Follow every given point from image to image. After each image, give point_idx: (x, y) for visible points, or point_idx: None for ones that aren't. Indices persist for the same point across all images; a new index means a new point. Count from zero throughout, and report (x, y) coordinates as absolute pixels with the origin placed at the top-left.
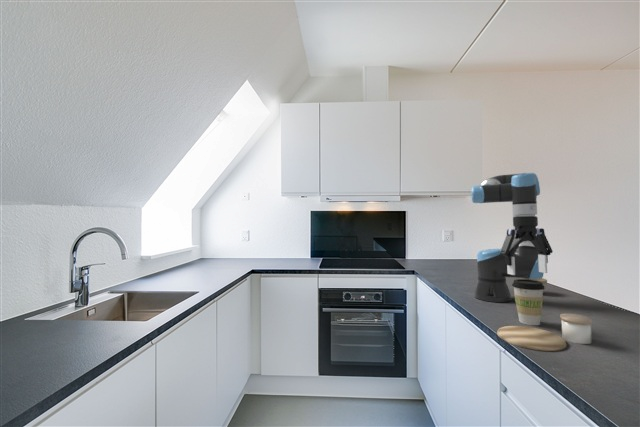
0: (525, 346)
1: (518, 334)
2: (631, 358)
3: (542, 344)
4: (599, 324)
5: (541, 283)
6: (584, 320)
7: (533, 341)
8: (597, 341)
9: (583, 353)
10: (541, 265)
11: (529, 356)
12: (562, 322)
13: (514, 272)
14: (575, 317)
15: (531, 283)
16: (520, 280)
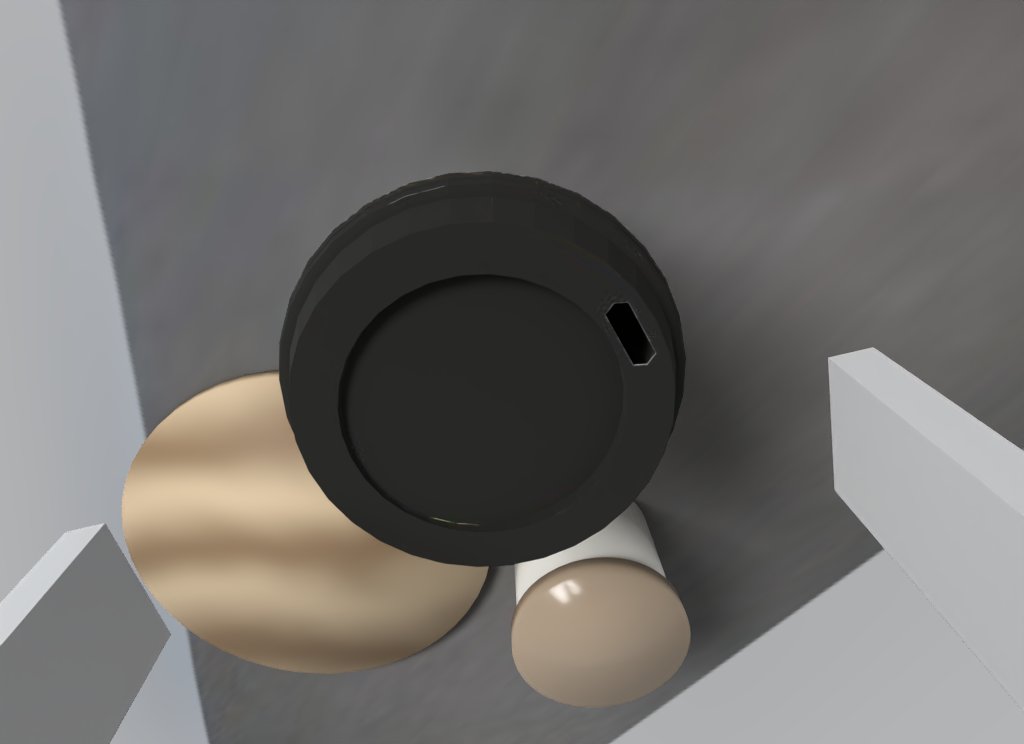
0: (222, 644)
1: (250, 520)
2: (645, 709)
3: (318, 637)
4: (981, 304)
5: (599, 530)
6: (605, 694)
7: (290, 607)
8: (672, 562)
9: (477, 676)
10: (921, 502)
11: (204, 704)
12: (519, 598)
13: (134, 676)
14: (597, 647)
15: (456, 535)
16: (445, 275)
